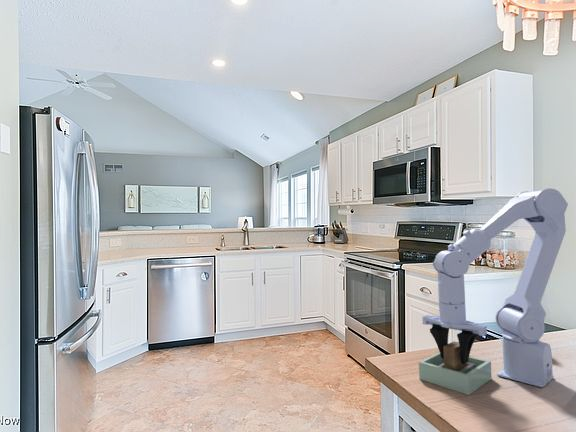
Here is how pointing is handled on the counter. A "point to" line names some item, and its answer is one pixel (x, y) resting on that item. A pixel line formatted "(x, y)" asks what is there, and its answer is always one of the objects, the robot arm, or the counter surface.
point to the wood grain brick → (452, 356)
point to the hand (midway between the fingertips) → (454, 360)
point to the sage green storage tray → (456, 373)
